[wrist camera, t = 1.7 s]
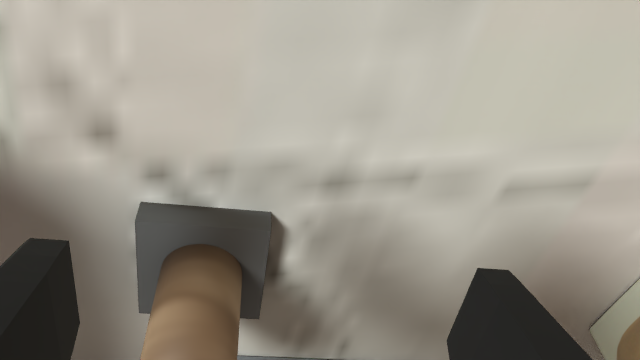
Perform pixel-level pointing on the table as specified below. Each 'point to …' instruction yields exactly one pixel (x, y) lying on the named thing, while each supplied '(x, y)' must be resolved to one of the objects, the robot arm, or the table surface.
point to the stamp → (198, 277)
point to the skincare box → (620, 328)
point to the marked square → (269, 358)
